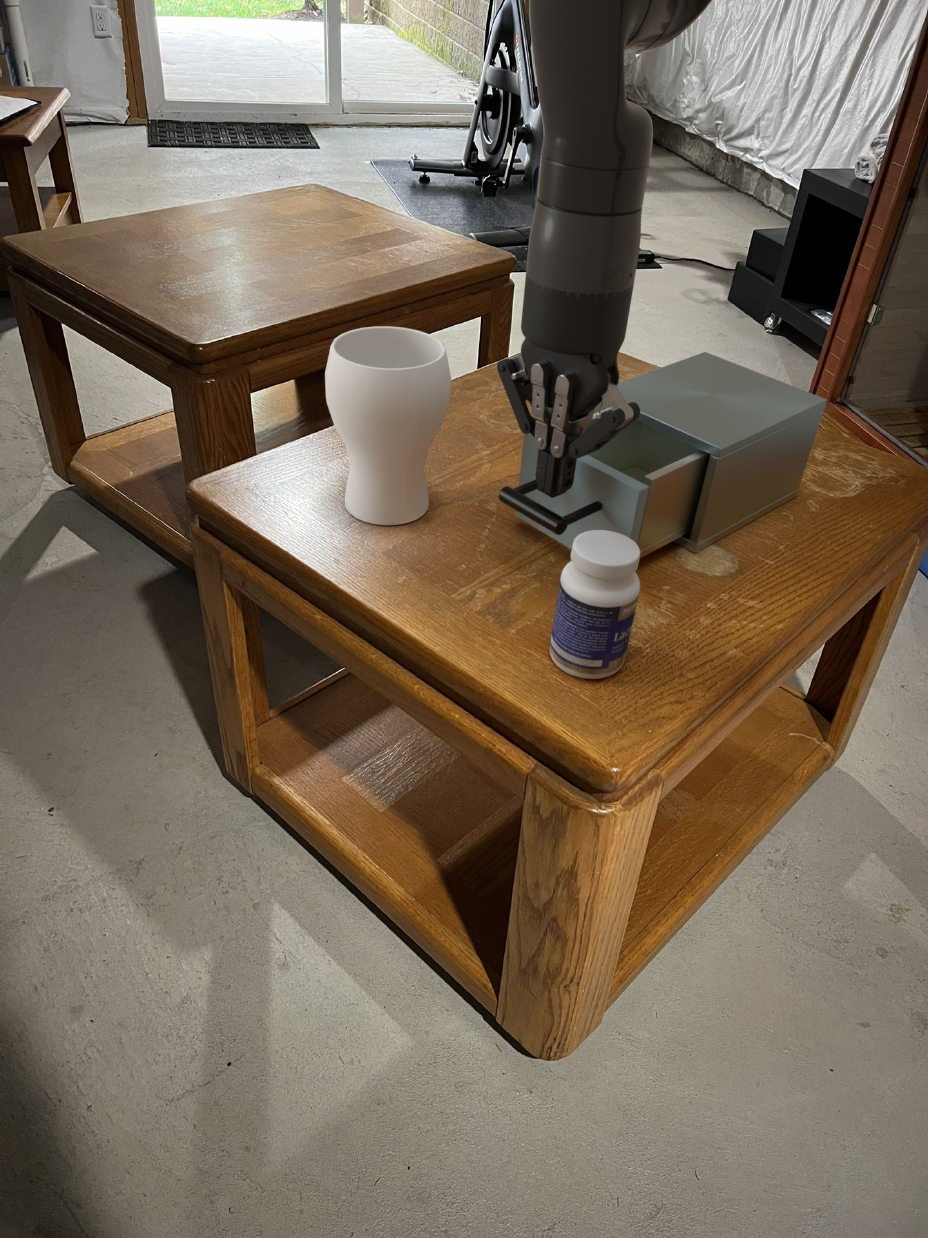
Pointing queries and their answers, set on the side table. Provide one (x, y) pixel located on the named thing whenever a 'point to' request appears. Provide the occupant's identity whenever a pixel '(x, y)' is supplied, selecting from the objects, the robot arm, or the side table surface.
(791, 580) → the side table surface
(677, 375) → the drawer cabinet
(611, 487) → the drawer
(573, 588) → the pill bottle
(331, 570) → the side table surface
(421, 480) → the cup
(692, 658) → the side table surface
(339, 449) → the side table surface
